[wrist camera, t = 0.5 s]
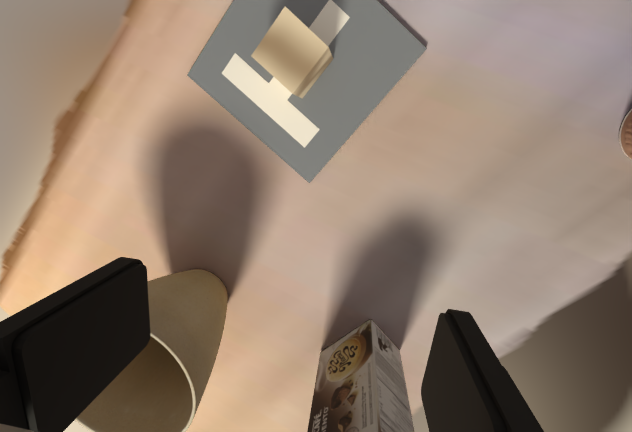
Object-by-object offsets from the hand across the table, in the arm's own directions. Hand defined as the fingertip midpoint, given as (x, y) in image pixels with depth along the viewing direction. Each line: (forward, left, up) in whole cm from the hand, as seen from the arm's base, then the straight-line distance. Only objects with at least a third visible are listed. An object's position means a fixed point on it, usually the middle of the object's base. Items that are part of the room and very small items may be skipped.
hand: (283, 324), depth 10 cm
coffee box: (+16, +18, -28) cm, 36 cm away
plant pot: (+25, -3, -28) cm, 37 cm away
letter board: (-6, -11, -27) cm, 30 cm away
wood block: (-6, -11, -27) cm, 30 cm away
